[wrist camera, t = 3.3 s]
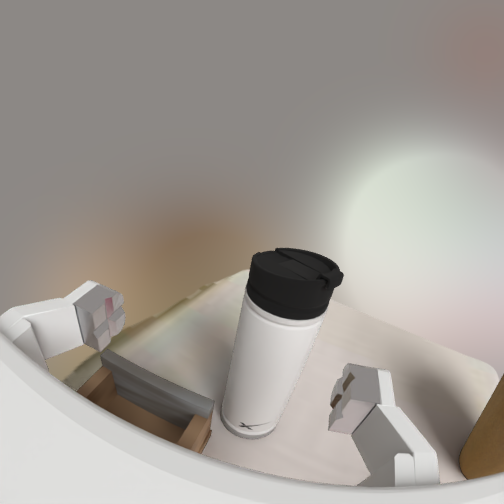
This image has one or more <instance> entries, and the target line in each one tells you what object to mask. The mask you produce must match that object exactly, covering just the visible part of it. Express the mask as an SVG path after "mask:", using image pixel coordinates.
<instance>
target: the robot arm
mask: <svg viewBox="0 0 504 504" xmlns="http://www.w3.org/2000/svg"><path fill="white" fill-rule="evenodd" d="M123 303H124V301H123V295H122V294H121V293H119V292H116V291H114V290H112V289H109V288H108V287H106V286H103V285H101V284H98V283H96V282H94V281H92V280H91V281H87V282H86V283H84V284H83V285H81V286H80V287H79V288H77V289H76V290H74V291H73V292H72V293H70V294H69V295H68V296H66V297H65V298H64V299H62V298H56V299H52V300H47V301H42V302H37V303H32V304H27V305H23V306H17V307H13V308H11V309H9V310H8V311H6V312H5V313H4V314H2V315H1V316H0V504H504V472H501V473H497V474H493V475H489V476H484V477H480V478H475V479H469V480H464V481H458V482H451V483H444V484H440V478H439V469H438V460H437V453H436V451H435V450H434V449H433V448H432V447H431V445H430V444H429V443H428V442H427V440H426V439H425V438H424V437H423V435H422V434H421V433H420V432H419V430H418V429H417V428H416V427H415V426H414V424H413V423H412V422H411V421H410V419H409V418H408V417H407V416H406V415H405V413H404V412H403V411H402V410H401V408H400V407H396V405H395V398H394V391H393V385H392V379H391V373H390V371H389V370H385V369H379V368H372V367H366V366H361V365H356V364H351V363H348V364H347V365H346V366H345V368H344V369H343V377H342V378H340V379H338V380H337V382H336V384H335V386H334V388H333V391H332V395H331V402H330V405H331V407H332V408H333V410H332V412H331V413H330V415H329V427H328V431H333V432H339V433H345V434H351V437H352V439H353V441H354V442H355V444H356V446H357V448H358V450H359V452H360V454H361V456H362V458H363V460H364V462H365V464H366V466H367V468H368V470H369V472H370V474H371V475H370V476H369V477H368V478H366V479H365V480H364V481H362V482H361V483H360V484H358V485H357V486H348V485H336V484H327V483H319V482H311V481H305V480H299V479H293V478H287V477H282V476H277V475H273V474H268V473H264V472H260V471H256V470H252V469H248V468H244V467H240V466H237V465H233V464H230V463H227V462H224V461H220V460H217V459H214V458H211V457H208V456H205V455H203V454H200V453H197V452H194V451H192V450H189V449H186V448H184V447H181V446H179V445H176V444H174V443H171V442H169V441H167V440H164V439H162V438H160V437H158V436H155V435H153V434H151V433H149V432H147V431H145V430H143V429H141V428H139V427H137V426H135V425H133V424H131V423H129V422H127V421H125V420H123V419H121V418H119V417H117V416H115V415H114V414H112V413H110V412H108V411H107V410H105V409H103V408H101V407H100V406H98V405H96V404H95V403H93V402H91V401H90V400H88V399H87V398H85V397H83V396H82V395H80V394H79V393H77V392H76V391H74V390H73V389H71V388H70V387H68V386H67V385H65V384H64V383H62V382H61V381H60V380H58V379H57V378H55V377H54V376H53V375H51V374H50V373H49V370H48V366H47V364H46V362H45V360H46V359H48V358H51V357H53V356H56V355H59V354H61V353H63V352H66V351H69V350H71V349H74V348H76V347H79V346H81V345H83V344H86V345H88V346H90V347H92V348H94V349H95V350H97V351H99V352H101V351H102V350H103V349H104V348H105V347H106V346H107V345H108V344H109V343H110V342H111V336H115V335H118V333H119V332H120V331H121V330H122V328H123V326H124V323H125V312H124V310H123V309H122V307H121V306H122V304H123Z"/></svg>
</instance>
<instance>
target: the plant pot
mask: <svg viewBox="0 0 504 504" xmlns="http://www.w3.org/2000/svg"><path fill="white" fill-rule="evenodd" d="M459 463H460V468H461V471H462V473H463V474H464V476H465V477H466V478H467V479H468V480H469V479H475V478H480V477H484V476H489V475H493V474H497V473H501V472H504V374H503V376H502V378H501V380H500V382H499V383H498V385H497V387H496V389H495V391H494V392H493V394H492V396H491V398H490V399H489V401H488V403H487V405H486V407H485V408H484V410H483V412H482V414H481V415H480V417H479V419H478V421H477V423H476V424H475V426H474V428H473V430H472V432H471V434H470V435H469V437H468V439H467V441H466V443H465V445H464V447H463V449H462V451H461V453H460V458H459Z"/></svg>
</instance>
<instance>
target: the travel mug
mask: <svg viewBox="0 0 504 504" xmlns="http://www.w3.org/2000/svg"><path fill="white" fill-rule="evenodd" d="M343 276H344V275H343V273H342V272H340V269H339V267H338V265H337V264H336V263H334V262H333V261H332V260H330V259H328V258H327V257H324V256H322V255H319V254H316V253H313V252H309V251H305V250H300V249H293V248H276V249H275V251H266V252H262V253H260V252H258V253H256V254H255V255H253V257H252V262H251V267H250V272H249V279H248V282H247V285H246V288H245V295H244V298H243V303H242V308H241V313H240V318H239V323H238V328H237V334H236V339H235V344H234V349H233V354H232V359H231V364H230V369H229V374H228V379H227V384H226V389H225V394H224V400H223V405H222V410H221V418H222V421H223V424H224V425H225V427H226V428H227V429H228V430H229V431H230V432H231V433H233V434H235V435H236V436H239V437H241V438H246V439H259V438H262V437H265V436H267V435H269V434H270V433H271V432H272V431H273V430H274V429H275V427H276V425H277V423H278V421H279V419H280V417H281V415H282V413H283V411H284V409H285V407H286V405H287V403H288V401H289V399H290V396H291V394H292V392H293V390H294V388H295V386H296V384H297V381H298V379H299V377H300V375H301V372H302V370H303V368H304V366H305V363H306V361H307V359H308V356H309V354H310V352H311V349H312V347H313V344H314V342H315V340H316V337H317V335H318V332H319V330H320V327H321V325H322V322H323V320H324V316H325V314H326V312H327V309H328V304H329V300H330V298H331V296H332V293H333V290H334V288H335V287H337V286H339V285H340V284H341V282H342V279H343Z"/></svg>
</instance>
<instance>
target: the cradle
mask: <svg viewBox="0 0 504 504" xmlns="http://www.w3.org/2000/svg"><path fill="white" fill-rule="evenodd" d="M100 357H101V361H102V365H103V366H102V367H101V368H100V369H99V370H98V371H97V372H96V373H95V374H94V375H93V376H92V377H91V378H90V379H89V380H88V381H87V382H86V383H85V384H84V385H83V386H82V387H81V388H80V389H79V390H78V391H77V393H79V394H80V395H82V396H83V397H85V398H87V399H88V400H90V401H91V402H93V403H95V404H96V405H98V406H100V407H101V408H103V409H105V410H107V411H108V412H110V413H112V414H114V415H115V416H117V417H119V418H121V419H123V420H125V421H127V422H129V423H131V424H133V425H135V426H137V427H139V428H141V429H143V430H145V431H147V432H149V433H151V434H153V435H155V436H158V437H160V438H162V439H164V440H167V441H169V442H171V443H174V444H176V445H179V446H181V447H184V448H186V449H189V450H192V451H194V452H197V453H200V454H201V453H202V451H203V449H204V447H205V446H206V444H207V442H208V440H209V438H210V436H211V432H212V430H210V426H211V419H212V413H213V406H214V400H211V399H209V398H206V397H204V396H201V395H199V394H197V393H194V392H192V391H190V390H187V389H185V388H183V387H181V386H178V385H176V384H174V383H172V382H170V381H168V380H166V379H163V378H161V377H159V376H157V375H155V374H153V373H151V372H149V371H147V370H145V369H143V368H141V367H139V366H138V365H136V364H134V363H132V362H130V361H128V360H126V359H125V358H123V357H121V356H119V355H117V354H116V353H114V352H112V351H110V350H109V349H107V350H106V351H105V352H104V353H103V354H101V355H100Z"/></svg>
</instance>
